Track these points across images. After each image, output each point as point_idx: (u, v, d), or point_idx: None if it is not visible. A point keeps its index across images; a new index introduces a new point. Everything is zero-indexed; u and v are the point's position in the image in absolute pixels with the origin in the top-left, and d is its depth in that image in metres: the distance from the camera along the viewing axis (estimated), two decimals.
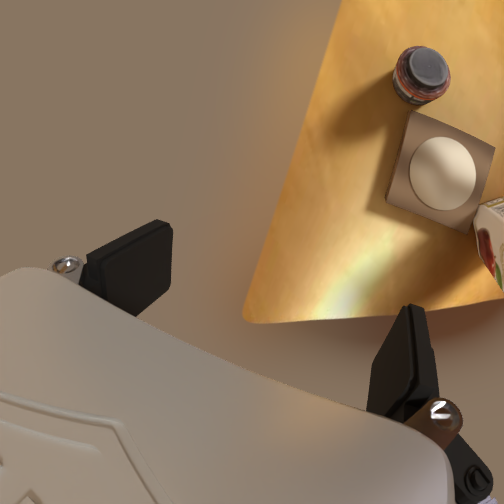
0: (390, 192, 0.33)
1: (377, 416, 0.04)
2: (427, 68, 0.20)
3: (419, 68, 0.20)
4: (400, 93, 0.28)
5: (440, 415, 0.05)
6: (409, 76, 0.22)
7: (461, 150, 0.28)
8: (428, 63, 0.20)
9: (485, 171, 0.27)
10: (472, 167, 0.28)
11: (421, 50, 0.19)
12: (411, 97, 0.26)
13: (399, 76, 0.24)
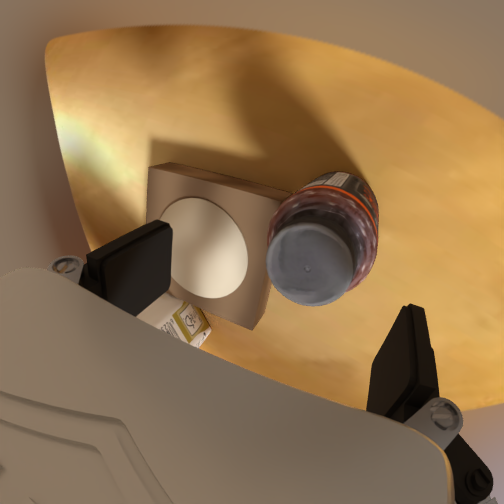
0: (160, 171, 0.24)
1: (377, 416, 0.04)
2: (302, 263, 0.13)
3: (299, 245, 0.13)
4: None
5: (440, 415, 0.05)
6: (296, 214, 0.14)
7: (235, 279, 0.25)
8: (313, 268, 0.13)
9: (218, 312, 0.27)
10: (217, 294, 0.26)
11: (344, 258, 0.12)
12: None
13: (304, 191, 0.15)
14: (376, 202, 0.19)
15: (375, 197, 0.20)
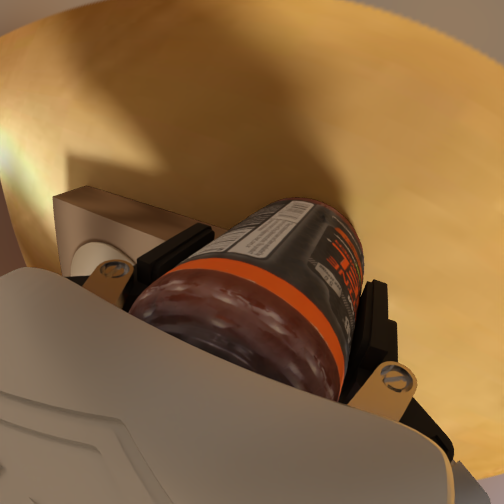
0: (63, 203, 0.16)
1: (377, 416, 0.04)
2: None
3: None
4: None
5: (392, 378, 0.06)
6: None
7: None
8: None
9: None
10: None
11: None
12: None
13: (174, 276, 0.06)
14: (360, 255, 0.11)
15: (359, 244, 0.12)
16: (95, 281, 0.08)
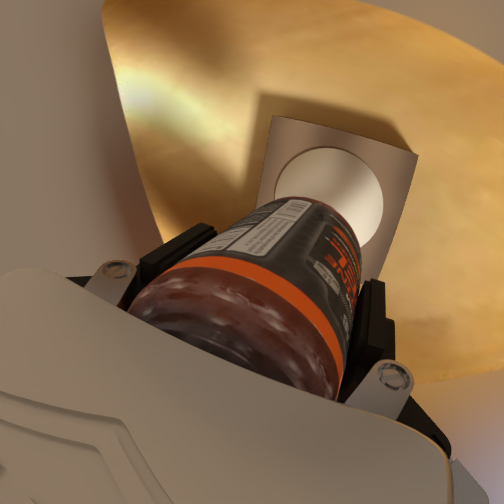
0: (288, 120, 0.22)
1: (377, 416, 0.04)
2: None
3: None
4: None
5: (389, 376, 0.06)
6: None
7: (366, 233, 0.24)
8: None
9: None
10: None
11: None
12: None
13: (173, 274, 0.07)
14: (357, 254, 0.11)
15: (357, 243, 0.12)
16: (98, 282, 0.08)
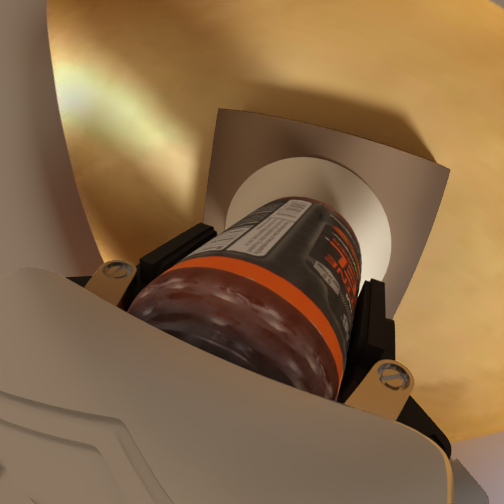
0: (242, 114, 0.14)
1: (377, 416, 0.04)
2: None
3: None
4: None
5: (389, 376, 0.06)
6: None
7: None
8: None
9: None
10: None
11: None
12: None
13: (173, 274, 0.07)
14: (357, 254, 0.11)
15: (357, 243, 0.12)
16: (98, 282, 0.08)
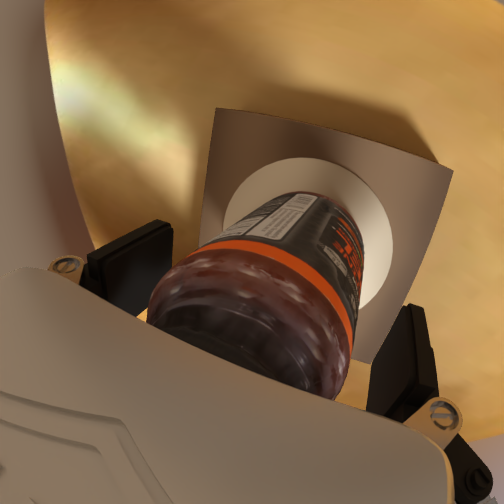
0: (240, 114, 0.14)
1: (377, 416, 0.04)
2: None
3: None
4: None
5: (439, 415, 0.05)
6: (173, 312, 0.07)
7: (363, 292, 0.15)
8: None
9: None
10: None
11: None
12: None
13: (198, 256, 0.07)
14: (360, 244, 0.12)
15: (359, 234, 0.12)
16: None
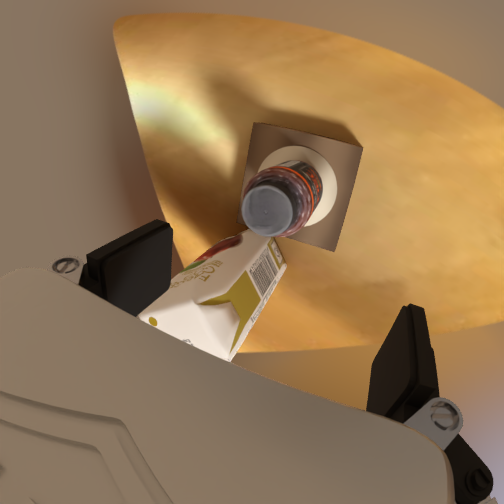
0: (265, 126, 0.31)
1: (377, 416, 0.04)
2: (263, 208, 0.22)
3: (260, 198, 0.22)
4: None
5: (440, 415, 0.05)
6: (259, 183, 0.23)
7: (325, 208, 0.32)
8: (269, 211, 0.22)
9: (306, 239, 0.34)
10: (308, 222, 0.33)
11: (286, 204, 0.21)
12: None
13: (265, 169, 0.24)
14: (319, 179, 0.29)
15: (319, 176, 0.29)
16: None
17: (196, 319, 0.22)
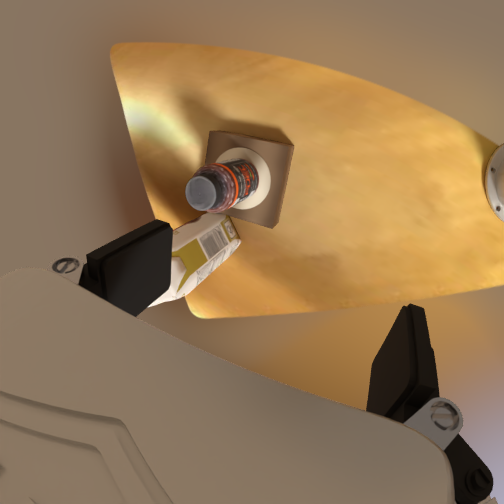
0: (217, 133, 0.41)
1: (377, 416, 0.04)
2: (197, 191, 0.32)
3: (195, 184, 0.32)
4: None
5: (440, 415, 0.05)
6: (199, 175, 0.34)
7: (262, 194, 0.42)
8: (201, 193, 0.32)
9: (250, 218, 0.44)
10: (251, 205, 0.43)
11: (211, 188, 0.32)
12: None
13: (204, 166, 0.34)
14: (253, 172, 0.39)
15: (254, 169, 0.40)
16: None
17: None
